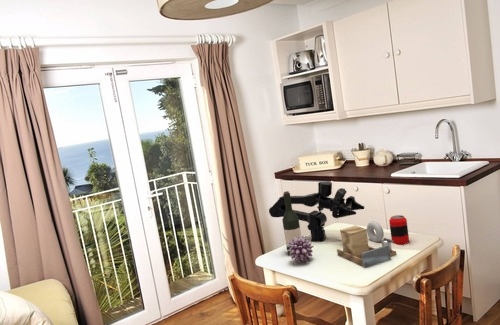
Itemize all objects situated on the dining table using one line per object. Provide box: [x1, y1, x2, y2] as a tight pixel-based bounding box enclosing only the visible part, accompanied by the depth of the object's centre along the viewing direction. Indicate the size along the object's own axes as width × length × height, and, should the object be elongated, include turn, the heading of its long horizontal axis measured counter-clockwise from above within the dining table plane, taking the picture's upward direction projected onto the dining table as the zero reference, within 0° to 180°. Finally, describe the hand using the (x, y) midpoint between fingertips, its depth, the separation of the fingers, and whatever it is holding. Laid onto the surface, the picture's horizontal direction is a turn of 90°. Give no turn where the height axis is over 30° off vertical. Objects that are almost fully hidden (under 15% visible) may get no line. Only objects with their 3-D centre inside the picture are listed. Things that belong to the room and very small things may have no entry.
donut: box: [366, 221, 385, 243], centre depth 200 cm, size 10×4×10 cm, turn 24°
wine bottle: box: [281, 191, 302, 257], centre depth 202 cm, size 8×8×30 cm
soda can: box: [388, 214, 410, 246], centre depth 194 cm, size 8×8×12 cm
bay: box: [336, 245, 392, 269], centre depth 182 cm, size 20×13×7 cm, turn 21°
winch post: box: [381, 237, 397, 258], centre depth 179 cm, size 6×5×8 cm
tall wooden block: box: [339, 225, 370, 257], centre depth 186 cm, size 8×8×11 cm
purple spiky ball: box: [286, 235, 314, 263], centre depth 189 cm, size 12×12×12 cm
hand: (360, 210), depth 200 cm, fingers open, 9 cm apart
